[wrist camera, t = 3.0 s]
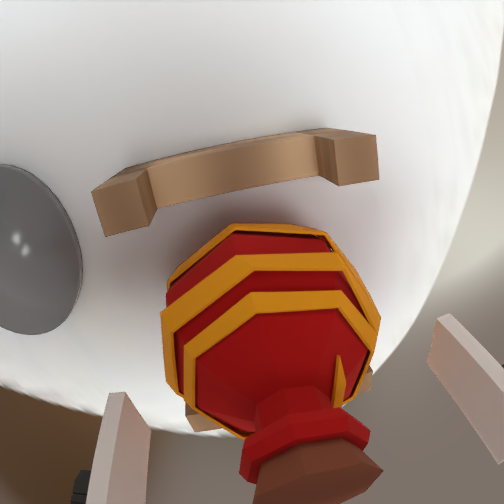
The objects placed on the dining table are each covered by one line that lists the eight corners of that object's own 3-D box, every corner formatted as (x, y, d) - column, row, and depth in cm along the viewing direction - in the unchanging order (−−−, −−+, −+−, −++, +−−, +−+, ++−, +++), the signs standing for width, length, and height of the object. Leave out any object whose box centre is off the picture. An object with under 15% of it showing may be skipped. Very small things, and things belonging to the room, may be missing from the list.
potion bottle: (279, 347, 24) (338, 529, 10) (148, 303, 21) (112, 522, 7) (354, 230, 21) (516, 386, 7) (212, 158, 17) (239, 312, 4)
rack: (193, 371, 24) (195, 432, 18) (125, 168, 17) (91, 192, 11) (340, 337, 24) (370, 390, 19) (326, 127, 18) (375, 135, 12)
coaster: (-7, 335, 20) (-11, 340, 19) (-66, 198, 14) (-72, 201, 14) (109, 316, 21) (107, 323, 20) (47, 135, 15) (42, 137, 14)
